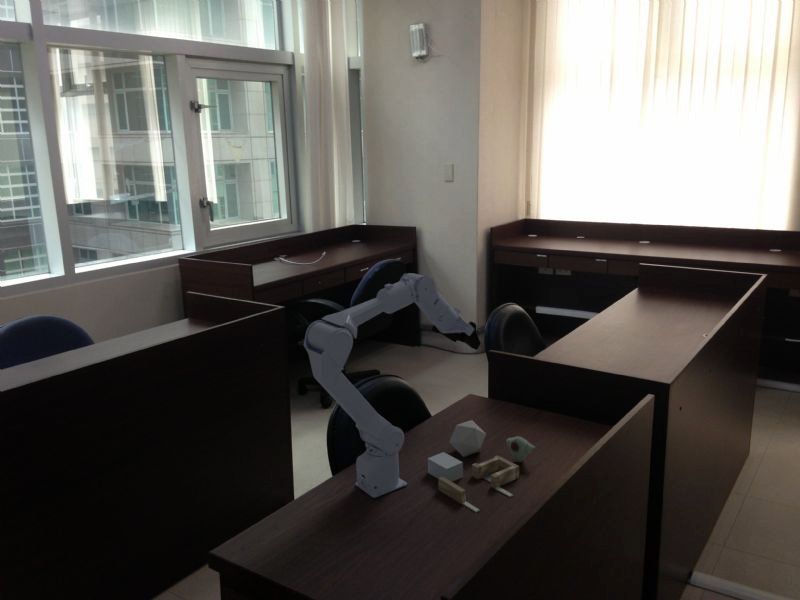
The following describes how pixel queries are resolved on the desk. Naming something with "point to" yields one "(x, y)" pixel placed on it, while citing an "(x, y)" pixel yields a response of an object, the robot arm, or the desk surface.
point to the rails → (477, 508)
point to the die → (467, 438)
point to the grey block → (445, 467)
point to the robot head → (519, 448)
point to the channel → (491, 470)
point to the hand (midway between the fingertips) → (467, 342)
